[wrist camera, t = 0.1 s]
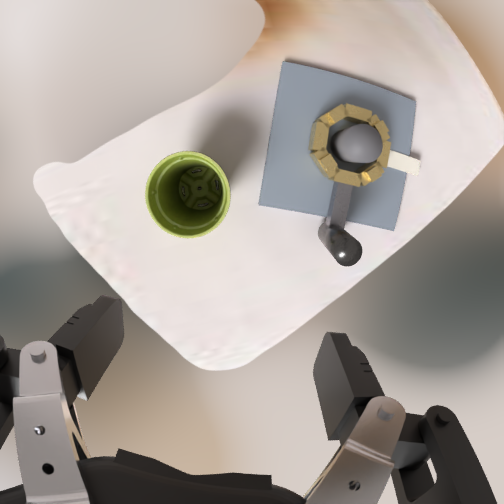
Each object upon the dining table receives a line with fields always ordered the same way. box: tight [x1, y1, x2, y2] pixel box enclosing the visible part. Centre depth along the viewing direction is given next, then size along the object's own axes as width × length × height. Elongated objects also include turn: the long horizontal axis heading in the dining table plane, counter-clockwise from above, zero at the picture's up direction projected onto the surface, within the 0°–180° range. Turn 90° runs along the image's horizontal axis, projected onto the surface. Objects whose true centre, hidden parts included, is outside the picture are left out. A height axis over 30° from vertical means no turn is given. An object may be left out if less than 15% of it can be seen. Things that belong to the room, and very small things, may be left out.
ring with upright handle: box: [308, 103, 391, 266], centre depth 31 cm, size 19×10×8 cm, turn 171°
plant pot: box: [145, 151, 231, 238], centre depth 33 cm, size 9×9×9 cm
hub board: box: [259, 61, 421, 231], centre depth 31 cm, size 20×22×8 cm
